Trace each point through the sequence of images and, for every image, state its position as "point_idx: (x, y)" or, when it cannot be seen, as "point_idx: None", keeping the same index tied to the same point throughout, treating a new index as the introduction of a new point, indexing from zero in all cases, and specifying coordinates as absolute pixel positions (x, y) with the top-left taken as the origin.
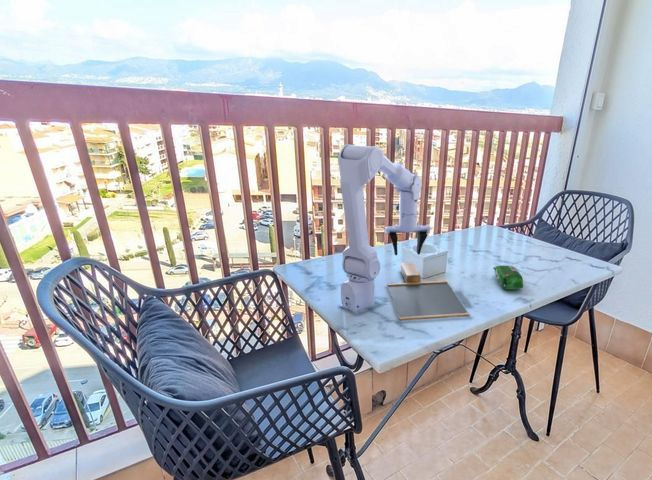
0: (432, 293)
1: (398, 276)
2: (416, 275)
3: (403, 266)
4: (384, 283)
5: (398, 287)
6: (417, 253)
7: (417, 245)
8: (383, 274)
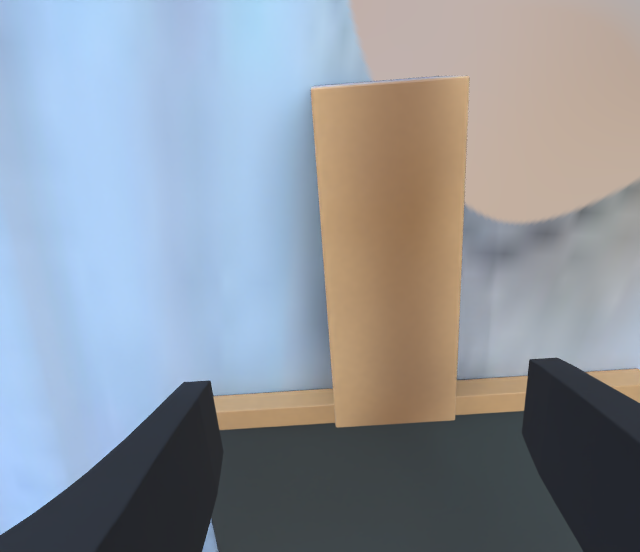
0: (477, 533)
1: (280, 195)
2: (420, 420)
3: (329, 208)
4: (162, 334)
5: (265, 450)
6: (526, 406)
7: (597, 441)
8: (136, 136)
